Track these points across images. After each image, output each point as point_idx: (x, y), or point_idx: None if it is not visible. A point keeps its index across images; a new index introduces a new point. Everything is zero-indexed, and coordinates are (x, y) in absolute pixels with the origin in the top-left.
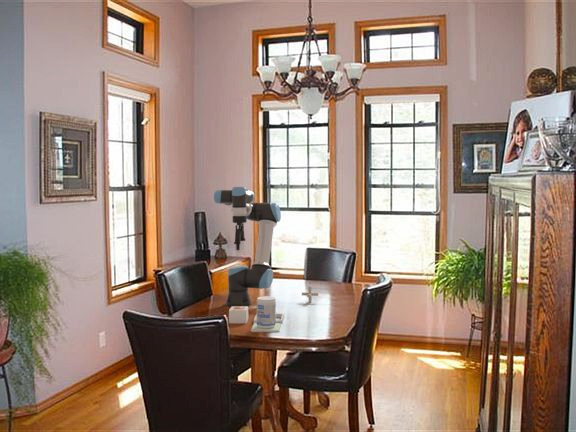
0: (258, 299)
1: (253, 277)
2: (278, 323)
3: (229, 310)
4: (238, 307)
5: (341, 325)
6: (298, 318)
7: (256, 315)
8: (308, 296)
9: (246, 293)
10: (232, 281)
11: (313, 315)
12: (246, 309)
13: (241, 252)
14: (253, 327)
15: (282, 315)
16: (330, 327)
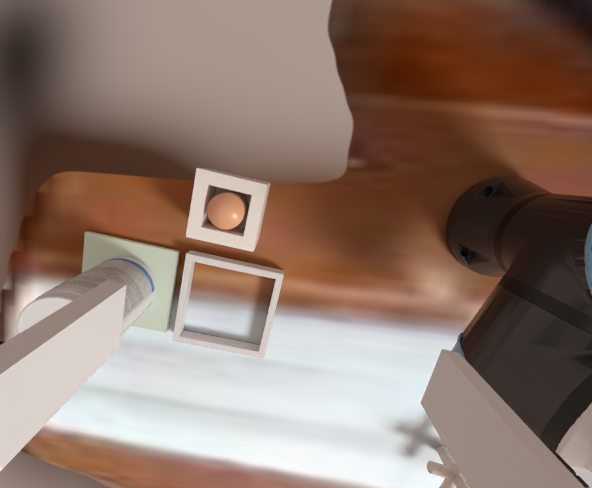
0: (35, 299)
1: (497, 334)
2: (165, 324)
3: (196, 170)
4: (225, 210)
5: (143, 472)
6: (240, 386)
7: (252, 270)
8: (430, 464)
9: (496, 269)
10: (552, 217)
11: (269, 429)
12: (200, 239)
13: (433, 377)
14: (121, 244)
15: (236, 350)
16: (125, 445)
